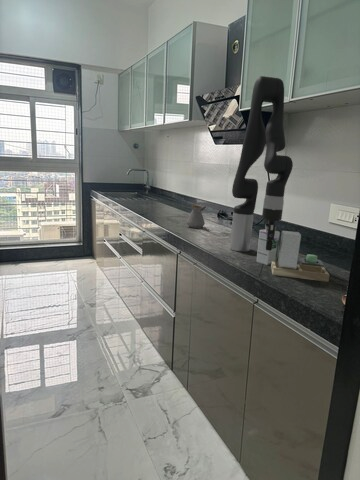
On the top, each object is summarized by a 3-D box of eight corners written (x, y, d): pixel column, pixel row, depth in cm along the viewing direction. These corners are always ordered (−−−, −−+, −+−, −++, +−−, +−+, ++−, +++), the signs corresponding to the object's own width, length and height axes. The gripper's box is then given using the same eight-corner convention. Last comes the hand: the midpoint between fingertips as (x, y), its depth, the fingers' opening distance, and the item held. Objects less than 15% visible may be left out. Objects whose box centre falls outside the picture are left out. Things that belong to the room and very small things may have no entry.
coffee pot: (183, 225, 222) (185, 201, 219) (200, 225, 225) (202, 202, 222) (194, 232, 202) (196, 206, 199) (212, 232, 205) (215, 206, 202)
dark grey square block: (297, 266, 144) (299, 257, 143) (318, 269, 143) (319, 259, 142) (300, 272, 136) (302, 262, 135) (322, 275, 135) (324, 265, 134)
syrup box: (266, 267, 139) (271, 231, 136) (255, 263, 144) (259, 229, 141) (276, 266, 143) (280, 231, 140) (264, 262, 147) (269, 228, 144)
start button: (304, 264, 141) (305, 253, 140) (314, 265, 141) (316, 255, 140) (305, 267, 137) (307, 256, 137) (316, 268, 137) (318, 257, 136)
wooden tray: (270, 270, 136) (271, 261, 135) (322, 276, 133) (323, 267, 132) (272, 278, 127) (273, 268, 126) (327, 284, 123) (329, 274, 123)
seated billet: (276, 269, 134) (281, 230, 131) (293, 271, 133) (298, 232, 130) (278, 273, 128) (283, 233, 125) (295, 275, 127) (301, 235, 124)
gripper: (262, 204, 146) (257, 243, 149) (264, 208, 132) (258, 250, 135) (281, 206, 145) (276, 245, 148) (284, 210, 131) (278, 253, 134)
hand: (267, 247), depth 142 cm, fingers closed on syrup box, 8 cm apart
